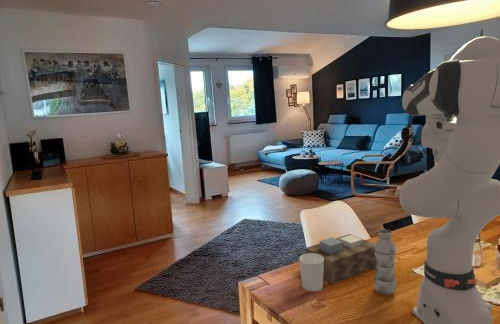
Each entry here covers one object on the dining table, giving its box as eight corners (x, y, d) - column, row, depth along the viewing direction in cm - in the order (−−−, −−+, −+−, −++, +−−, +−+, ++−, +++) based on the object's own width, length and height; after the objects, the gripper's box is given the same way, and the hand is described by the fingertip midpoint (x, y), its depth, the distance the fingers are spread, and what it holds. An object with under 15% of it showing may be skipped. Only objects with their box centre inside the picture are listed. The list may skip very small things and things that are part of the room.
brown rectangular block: (349, 253, 143) (349, 234, 142) (378, 266, 131) (378, 245, 130) (306, 268, 132) (305, 247, 131) (332, 284, 120) (332, 261, 119)
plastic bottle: (398, 298, 110) (399, 236, 107) (374, 296, 111) (375, 235, 108) (394, 287, 116) (395, 228, 113) (372, 286, 118) (372, 227, 114)
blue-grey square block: (331, 247, 132) (331, 237, 131) (342, 252, 127) (342, 242, 126) (320, 251, 129) (319, 241, 128) (330, 257, 124) (330, 246, 123)
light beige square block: (350, 245, 136) (350, 234, 136) (362, 249, 132) (362, 239, 131) (339, 248, 134) (339, 238, 133) (350, 253, 129) (350, 243, 128)
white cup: (319, 279, 124) (318, 251, 122) (328, 290, 116) (327, 261, 115) (297, 282, 123) (296, 254, 121) (304, 294, 115) (304, 265, 113)
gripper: (416, 121, 133) (416, 158, 135) (446, 124, 113) (445, 168, 115) (434, 120, 133) (432, 157, 135) (467, 123, 113) (464, 167, 115)
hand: (438, 162), depth 125 cm, fingers closed
